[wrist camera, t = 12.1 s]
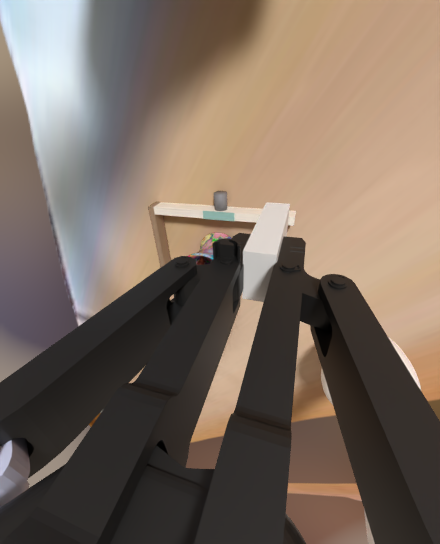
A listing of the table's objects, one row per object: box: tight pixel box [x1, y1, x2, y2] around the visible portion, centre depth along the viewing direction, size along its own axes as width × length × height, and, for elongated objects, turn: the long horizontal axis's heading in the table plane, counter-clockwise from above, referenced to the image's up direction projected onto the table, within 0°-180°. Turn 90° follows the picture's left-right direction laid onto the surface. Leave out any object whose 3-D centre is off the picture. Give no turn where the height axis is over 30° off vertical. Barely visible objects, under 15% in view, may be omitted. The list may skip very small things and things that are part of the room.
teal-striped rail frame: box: [148, 191, 296, 267], centre depth 52 cm, size 22×28×3 cm
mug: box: [188, 233, 232, 265], centre depth 50 cm, size 12×9×11 cm
